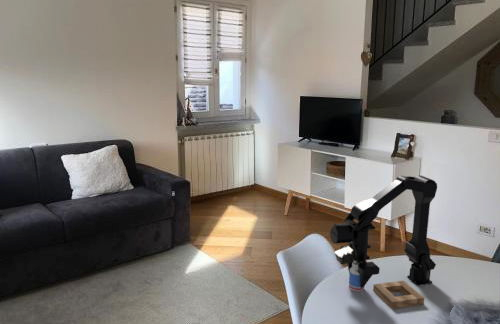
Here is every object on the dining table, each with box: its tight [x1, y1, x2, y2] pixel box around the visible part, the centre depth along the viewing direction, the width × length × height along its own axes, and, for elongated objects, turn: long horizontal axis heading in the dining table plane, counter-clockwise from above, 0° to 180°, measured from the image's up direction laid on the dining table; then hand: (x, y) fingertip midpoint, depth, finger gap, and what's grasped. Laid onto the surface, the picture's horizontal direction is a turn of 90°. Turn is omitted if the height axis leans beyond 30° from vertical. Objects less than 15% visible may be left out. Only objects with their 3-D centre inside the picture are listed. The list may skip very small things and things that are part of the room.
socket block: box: [372, 280, 425, 310], centre depth 150 cm, size 12×12×2 cm
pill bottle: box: [348, 261, 365, 293], centre depth 155 cm, size 6×5×10 cm
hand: (356, 281), depth 155 cm, fingers open, 8 cm apart
